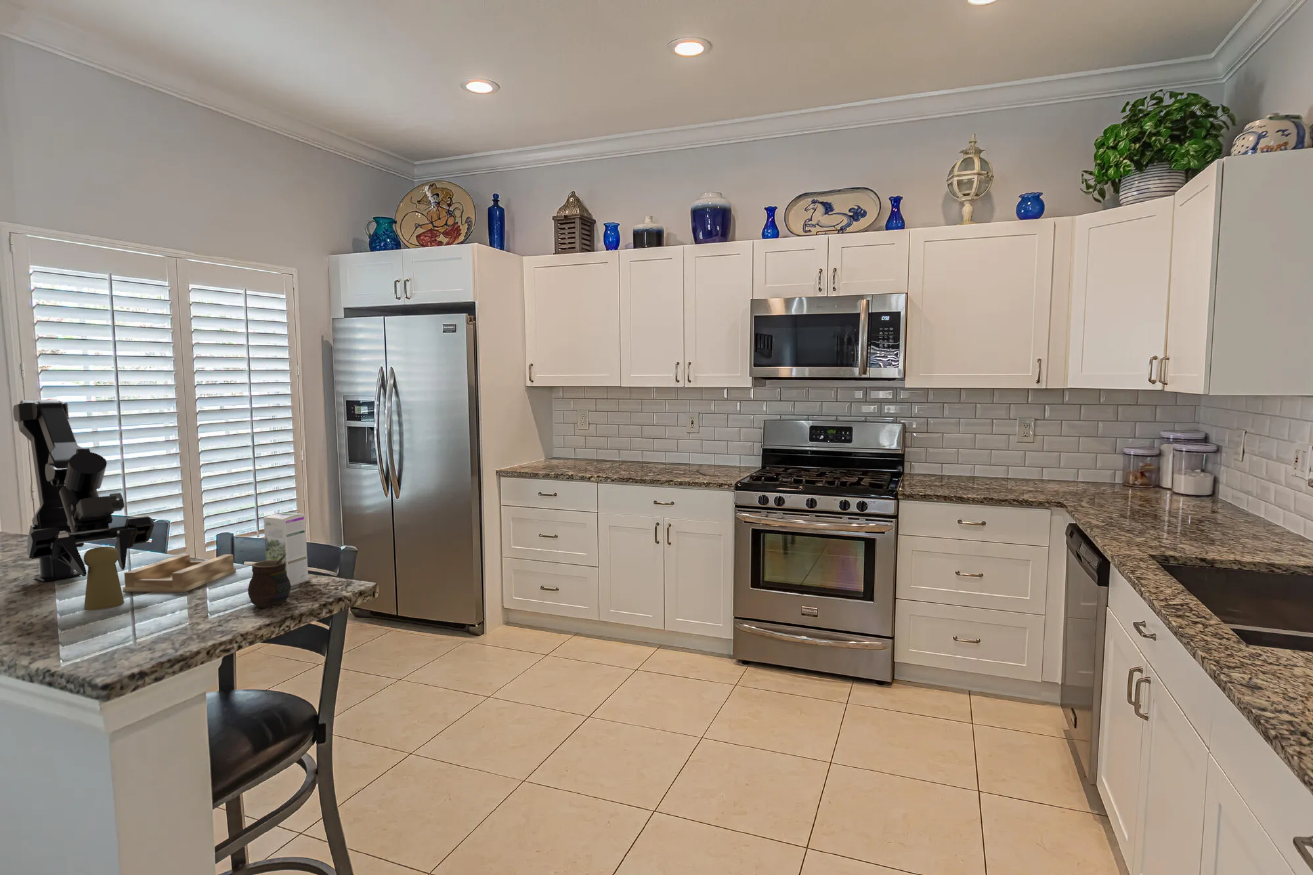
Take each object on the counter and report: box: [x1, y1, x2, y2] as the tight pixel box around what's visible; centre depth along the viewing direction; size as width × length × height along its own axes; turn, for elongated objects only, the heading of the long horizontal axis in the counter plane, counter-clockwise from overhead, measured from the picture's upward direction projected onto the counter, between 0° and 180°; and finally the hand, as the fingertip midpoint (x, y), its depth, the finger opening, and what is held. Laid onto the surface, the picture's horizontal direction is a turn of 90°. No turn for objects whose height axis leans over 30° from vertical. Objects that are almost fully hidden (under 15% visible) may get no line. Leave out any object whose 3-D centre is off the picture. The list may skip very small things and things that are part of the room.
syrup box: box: [263, 512, 309, 587], centre depth 149 cm, size 6×6×14 cm
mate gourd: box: [247, 554, 292, 609], centre depth 134 cm, size 7×8×10 cm
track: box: [122, 553, 237, 593], centre depth 152 cm, size 16×13×4 cm
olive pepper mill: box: [83, 546, 125, 611], centre depth 135 cm, size 6×6×11 cm
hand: (104, 571), depth 134 cm, fingers open, 6 cm apart
